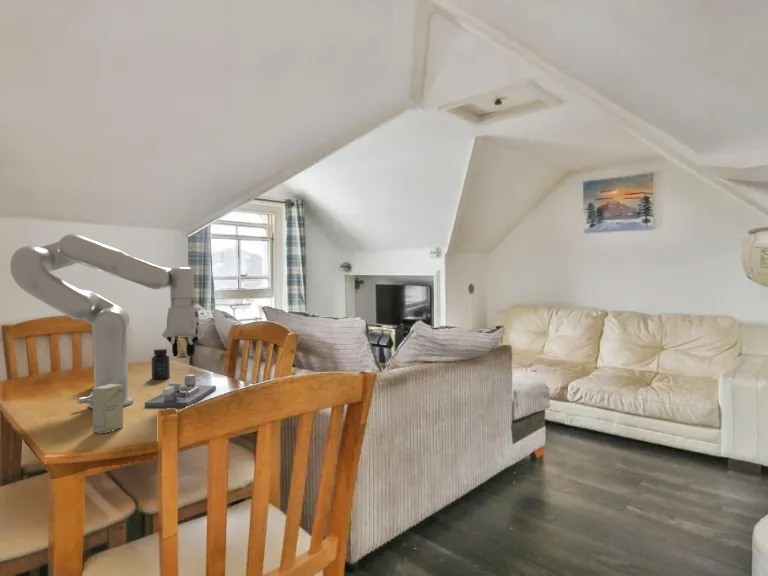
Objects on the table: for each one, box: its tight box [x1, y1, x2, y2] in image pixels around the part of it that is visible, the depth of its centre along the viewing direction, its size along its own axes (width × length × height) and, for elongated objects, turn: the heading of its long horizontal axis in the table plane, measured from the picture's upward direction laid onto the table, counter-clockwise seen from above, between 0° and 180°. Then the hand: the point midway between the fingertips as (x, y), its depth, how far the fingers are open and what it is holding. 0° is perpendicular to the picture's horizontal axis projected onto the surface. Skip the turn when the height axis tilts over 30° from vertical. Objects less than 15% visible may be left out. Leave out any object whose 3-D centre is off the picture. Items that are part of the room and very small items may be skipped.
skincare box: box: [92, 384, 124, 434], centre depth 129 cm, size 6×4×12 cm
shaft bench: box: [144, 373, 217, 409], centre depth 164 cm, size 24×14×6 cm, turn 179°
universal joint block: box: [176, 336, 192, 359], centre depth 164 cm, size 6×4×7 cm
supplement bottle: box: [150, 348, 171, 380], centre depth 195 cm, size 7×7×12 cm
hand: (183, 355), depth 164 cm, fingers closed on universal joint block, 4 cm apart
